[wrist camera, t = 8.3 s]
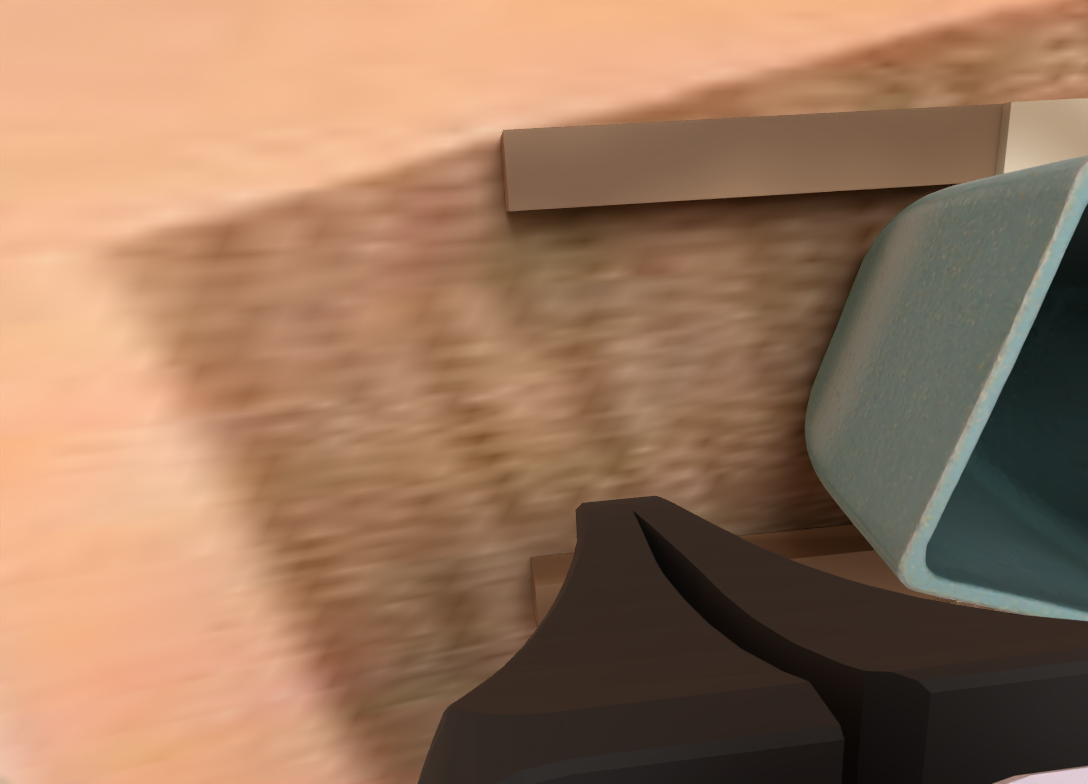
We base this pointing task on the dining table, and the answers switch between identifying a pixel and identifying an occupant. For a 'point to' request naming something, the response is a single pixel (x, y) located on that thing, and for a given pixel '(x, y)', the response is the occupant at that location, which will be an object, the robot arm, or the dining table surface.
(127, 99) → the dining table surface
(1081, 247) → the flower pot
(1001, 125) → the wooden frame
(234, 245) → the dining table surface
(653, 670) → the robot arm
